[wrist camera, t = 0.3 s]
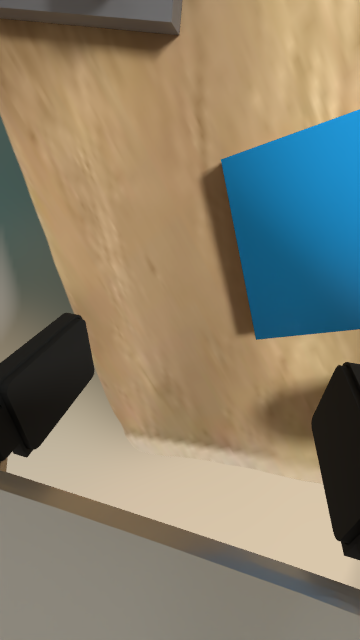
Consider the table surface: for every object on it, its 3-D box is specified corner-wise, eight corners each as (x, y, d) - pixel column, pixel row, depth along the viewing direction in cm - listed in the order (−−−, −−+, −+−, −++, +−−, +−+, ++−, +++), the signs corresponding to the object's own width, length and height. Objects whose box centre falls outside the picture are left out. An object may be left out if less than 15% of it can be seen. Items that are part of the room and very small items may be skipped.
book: (256, 340, 40) (217, 160, 29) (256, 325, 43) (222, 160, 32) (391, 326, 34) (407, 89, 23) (378, 310, 37) (387, 98, 26)
